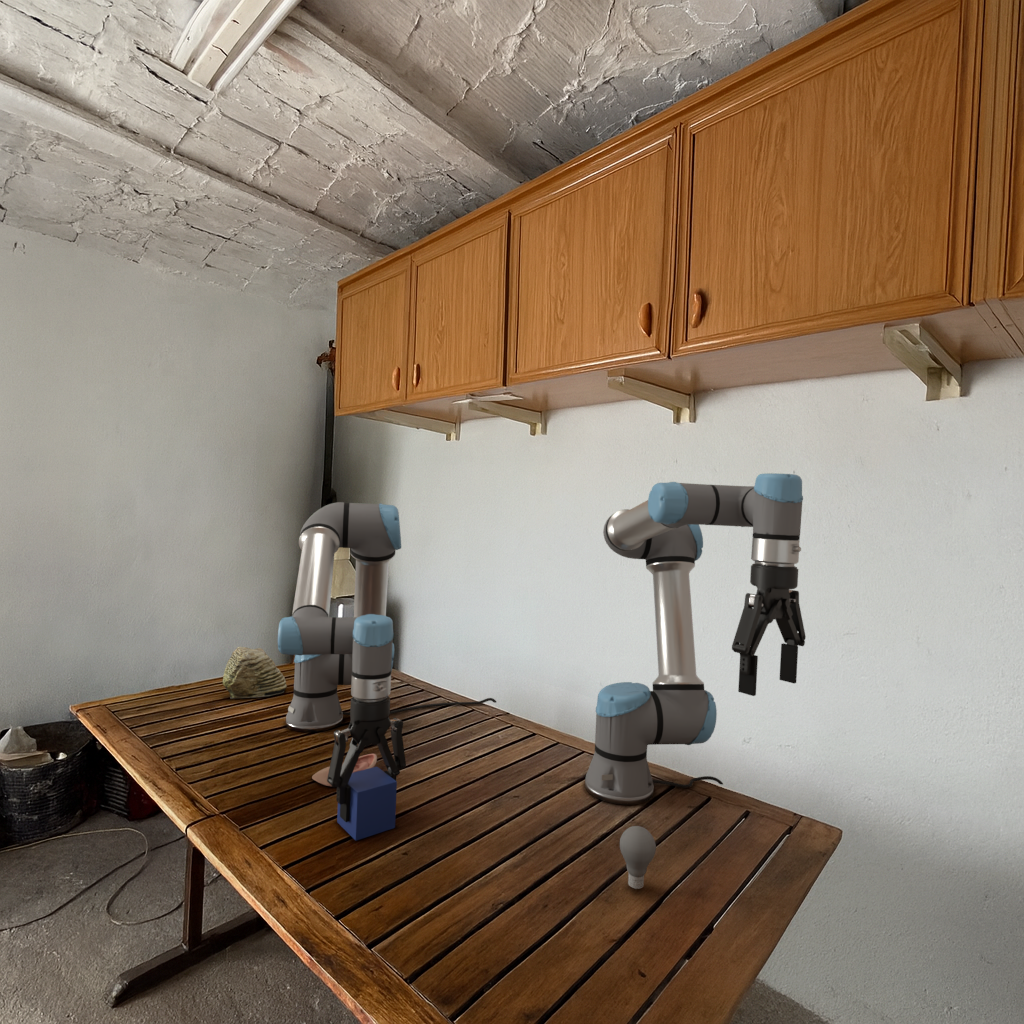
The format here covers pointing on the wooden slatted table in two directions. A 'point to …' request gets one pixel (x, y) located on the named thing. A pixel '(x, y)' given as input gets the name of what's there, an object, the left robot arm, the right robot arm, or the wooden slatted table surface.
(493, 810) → the wooden slatted table surface
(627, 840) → the light bulb
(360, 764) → the anatomical model
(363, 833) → the block
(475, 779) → the wooden slatted table surface
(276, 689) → the fossil
